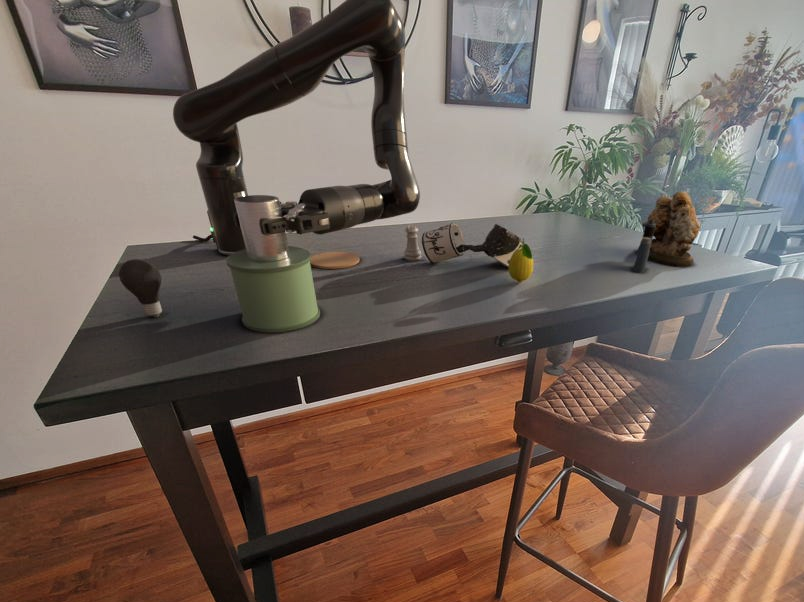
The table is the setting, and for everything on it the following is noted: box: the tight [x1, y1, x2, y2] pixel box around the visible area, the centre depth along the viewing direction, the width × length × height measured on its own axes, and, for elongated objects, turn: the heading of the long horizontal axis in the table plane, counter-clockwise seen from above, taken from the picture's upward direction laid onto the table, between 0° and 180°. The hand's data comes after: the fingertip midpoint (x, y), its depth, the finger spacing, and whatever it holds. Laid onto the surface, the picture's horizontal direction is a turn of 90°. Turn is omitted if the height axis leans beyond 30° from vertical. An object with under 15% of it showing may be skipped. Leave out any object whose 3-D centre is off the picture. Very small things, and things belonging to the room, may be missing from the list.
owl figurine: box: [637, 190, 701, 267], centre depth 118 cm, size 18×12×17 cm, turn 27°
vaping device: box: [633, 219, 656, 274], centre depth 109 cm, size 3×5×12 cm, turn 155°
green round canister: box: [225, 245, 321, 334], centre depth 77 cm, size 13×13×11 cm
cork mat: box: [310, 251, 361, 270], centre depth 107 cm, size 12×12×1 cm
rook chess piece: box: [403, 224, 422, 262], centre depth 109 cm, size 4×4×8 cm
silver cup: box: [234, 194, 290, 262], centre depth 71 cm, size 6×6×9 cm
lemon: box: [508, 237, 534, 284], centre depth 97 cm, size 7×6×10 cm
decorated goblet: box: [421, 222, 526, 268], centre depth 107 cm, size 25×10×10 cm, turn 92°
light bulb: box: [118, 258, 163, 318], centre depth 75 cm, size 6×6×10 cm
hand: (248, 224), depth 69 cm, fingers closed on silver cup, 6 cm apart
